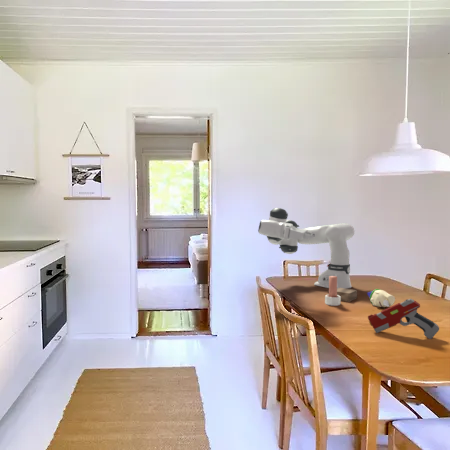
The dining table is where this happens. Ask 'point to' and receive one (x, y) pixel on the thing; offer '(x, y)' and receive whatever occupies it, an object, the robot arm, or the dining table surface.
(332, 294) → the dowel
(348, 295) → the stand
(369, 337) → the dining table surface
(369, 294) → the cartoon head
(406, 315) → the toy gun
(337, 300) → the white nut
